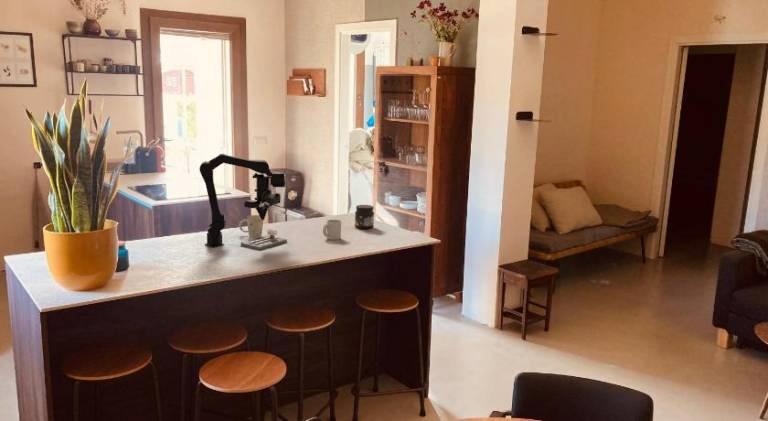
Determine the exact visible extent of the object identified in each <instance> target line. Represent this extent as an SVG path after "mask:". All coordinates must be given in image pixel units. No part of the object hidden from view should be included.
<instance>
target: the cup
mask: <svg viewBox="0 0 768 421" xmlns="http://www.w3.org/2000/svg"><path fill="white" fill-rule="evenodd" d="M322 233H323V236H324V237H326V239H327V240H331V241H337V240H341V237H342V221H341V220H340V219H327V220H326V224H324V226H323V228H322Z"/></svg>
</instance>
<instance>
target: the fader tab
mask: <svg viewBox="0 0 768 421" xmlns="http://www.w3.org/2000/svg"><path fill="white" fill-rule="evenodd" d="M268 235H269V236H270V239H273V238H275V237H276V236H277V235H278V230H277V229H273V228H267V236H268Z"/></svg>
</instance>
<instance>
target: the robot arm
mask: <svg viewBox="0 0 768 421" xmlns="http://www.w3.org/2000/svg"><path fill="white" fill-rule="evenodd" d="M223 164H225V165H231V166H236V167H242V168H245V169H250V170H252V171H253V172H254V174H252V176H251V178H252V179H256V181H255V182H256V184H255V185H256V188H255V189H254V192H256V197H255V198H254V199H253V200H252V199H249V200H245V201H244V202H243V203H244V206H243V207H244V208H249V209H255V210H256V211H257V215H259V216H260V218H261V220H264V221H265V218H266V216H267V212H268V210H269V208H271V207H273V206H274V205H278V204H281V193H279V192H277V193H272V189H270V186H272V188H285V187H286V179H285V173H284V172H278V173H277V172H273V171H272V170H271V169H270V165H269V163H268V162H267V160H264V159H247V158H243V157H238V156H233V155H228V154H225V153H219V154H218V155H217V156H215V157H213V158H212V159H210V160H208V161H207V160H205V161H203V162H201V163H200V166H199V173H200V175H201V177H202V179H203V181H204V183H205V189H206V193H207V196H208V201H209V205H210V210H211V223H210V224H209V225H208V226H207V233H206V243H205V244H204V246H207V247H210V248H217V247H222V246H224V245H225V243H223V234H222V233H223V232H222V231H223V230H224V229H225V226H226V223H227V218H226V217H225V215H226V214H225V211H223V212H222V211H221V208H220V205H219V201H218V200H219V199H218V195H217V191H216V190H217V189H216V187H215V182H214V170H215V169H217V168H218V167H219V166H221V165H223Z"/></svg>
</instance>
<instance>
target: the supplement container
mask: <svg viewBox="0 0 768 421" xmlns="http://www.w3.org/2000/svg"><path fill="white" fill-rule="evenodd" d="M374 220H375V212H374V206H373V205H371V204H358V205H356V207H355V212H354V227H355V228H356V229H358V230H366V231H367V230H368V231H369V230H371V229H373V228H374V227H375V226H374V223H375V221H374Z"/></svg>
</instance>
